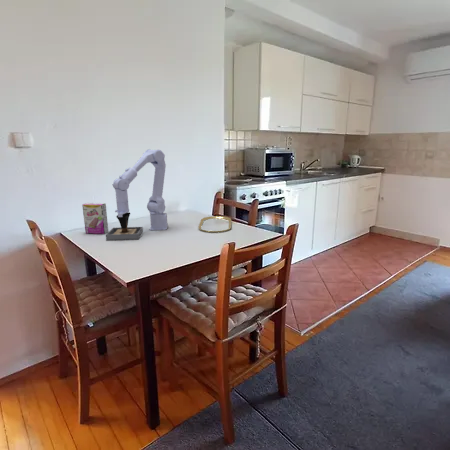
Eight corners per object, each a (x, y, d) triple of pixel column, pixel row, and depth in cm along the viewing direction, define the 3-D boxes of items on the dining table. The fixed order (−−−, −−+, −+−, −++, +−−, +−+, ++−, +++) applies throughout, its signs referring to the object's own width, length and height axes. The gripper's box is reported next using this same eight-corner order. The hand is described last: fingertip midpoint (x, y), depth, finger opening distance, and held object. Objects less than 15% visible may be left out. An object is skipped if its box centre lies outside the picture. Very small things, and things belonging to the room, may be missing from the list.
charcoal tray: (143, 232, 180) (142, 226, 179) (138, 239, 166) (137, 234, 166) (113, 232, 179) (112, 227, 178) (106, 240, 165) (105, 234, 165)
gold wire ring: (231, 218, 211) (231, 216, 210) (231, 233, 177) (231, 231, 176) (202, 218, 211) (202, 216, 211) (196, 233, 177) (196, 231, 177)
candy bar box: (85, 234, 177) (81, 204, 173) (89, 231, 182) (86, 202, 178) (104, 234, 176) (101, 204, 172) (109, 231, 181) (106, 202, 177)
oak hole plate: (136, 232, 178) (136, 228, 177) (133, 237, 168) (132, 234, 167) (118, 232, 177) (117, 229, 176) (113, 238, 167) (112, 234, 167)
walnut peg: (128, 231, 173) (127, 216, 171) (127, 232, 171) (125, 217, 169) (122, 231, 173) (121, 216, 171) (121, 232, 170) (119, 217, 168)
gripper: (117, 199, 175) (120, 224, 178) (110, 204, 161) (113, 231, 164) (131, 199, 175) (133, 223, 179) (125, 204, 161) (127, 231, 165)
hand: (124, 227), depth 171 cm, fingers closed on walnut peg, 3 cm apart
